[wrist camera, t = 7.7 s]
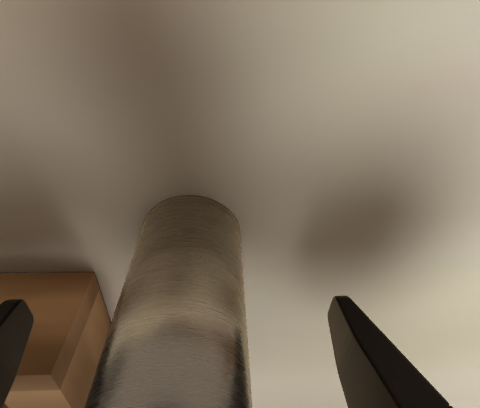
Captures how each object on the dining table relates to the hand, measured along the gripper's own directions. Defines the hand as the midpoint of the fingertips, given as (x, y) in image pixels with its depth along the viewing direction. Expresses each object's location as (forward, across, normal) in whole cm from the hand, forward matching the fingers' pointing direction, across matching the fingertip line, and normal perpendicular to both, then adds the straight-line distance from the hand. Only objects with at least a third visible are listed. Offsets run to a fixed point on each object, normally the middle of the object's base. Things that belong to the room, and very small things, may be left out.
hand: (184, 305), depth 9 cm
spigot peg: (+3, 0, 0) cm, 3 cm away
